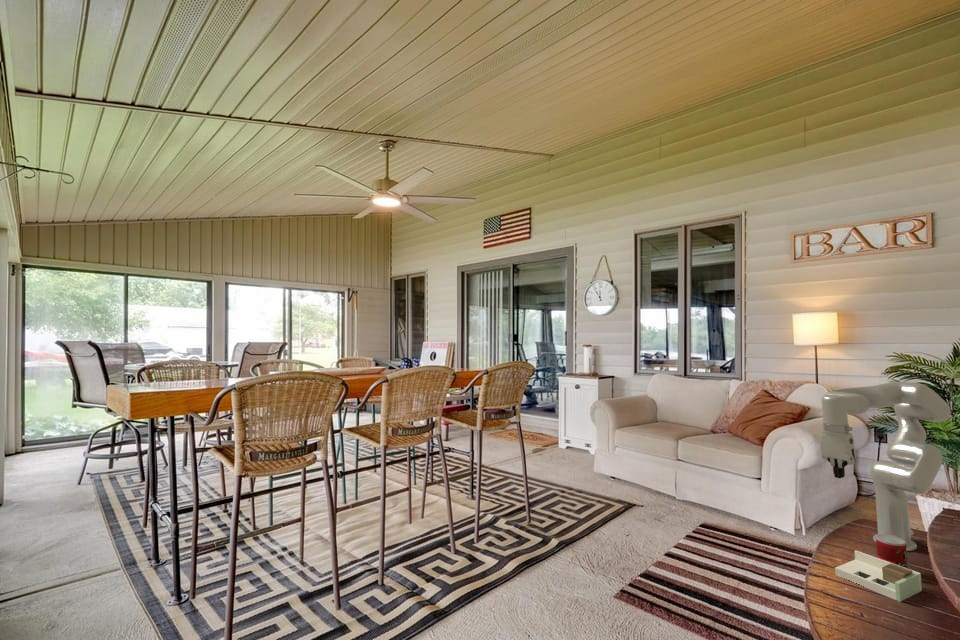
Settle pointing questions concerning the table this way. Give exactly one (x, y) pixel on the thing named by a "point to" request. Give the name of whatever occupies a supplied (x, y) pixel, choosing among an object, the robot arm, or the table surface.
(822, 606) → the table surface
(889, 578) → the block
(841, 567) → the trap box
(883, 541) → the canned food
